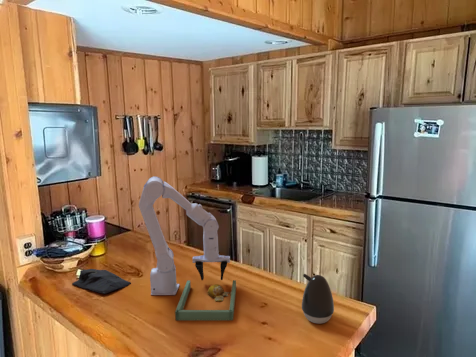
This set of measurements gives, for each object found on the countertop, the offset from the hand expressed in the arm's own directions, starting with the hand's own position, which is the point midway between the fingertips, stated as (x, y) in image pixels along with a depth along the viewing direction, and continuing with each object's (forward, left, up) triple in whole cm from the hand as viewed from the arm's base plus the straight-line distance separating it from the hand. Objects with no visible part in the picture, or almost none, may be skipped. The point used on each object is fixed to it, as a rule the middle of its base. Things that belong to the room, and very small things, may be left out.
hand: (212, 279), depth 139 cm
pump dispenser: (+37, -23, -3) cm, 44 cm away
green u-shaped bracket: (0, -13, -2) cm, 13 cm away
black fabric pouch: (-45, +2, -3) cm, 45 cm away
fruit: (+3, -9, -3) cm, 10 cm away
